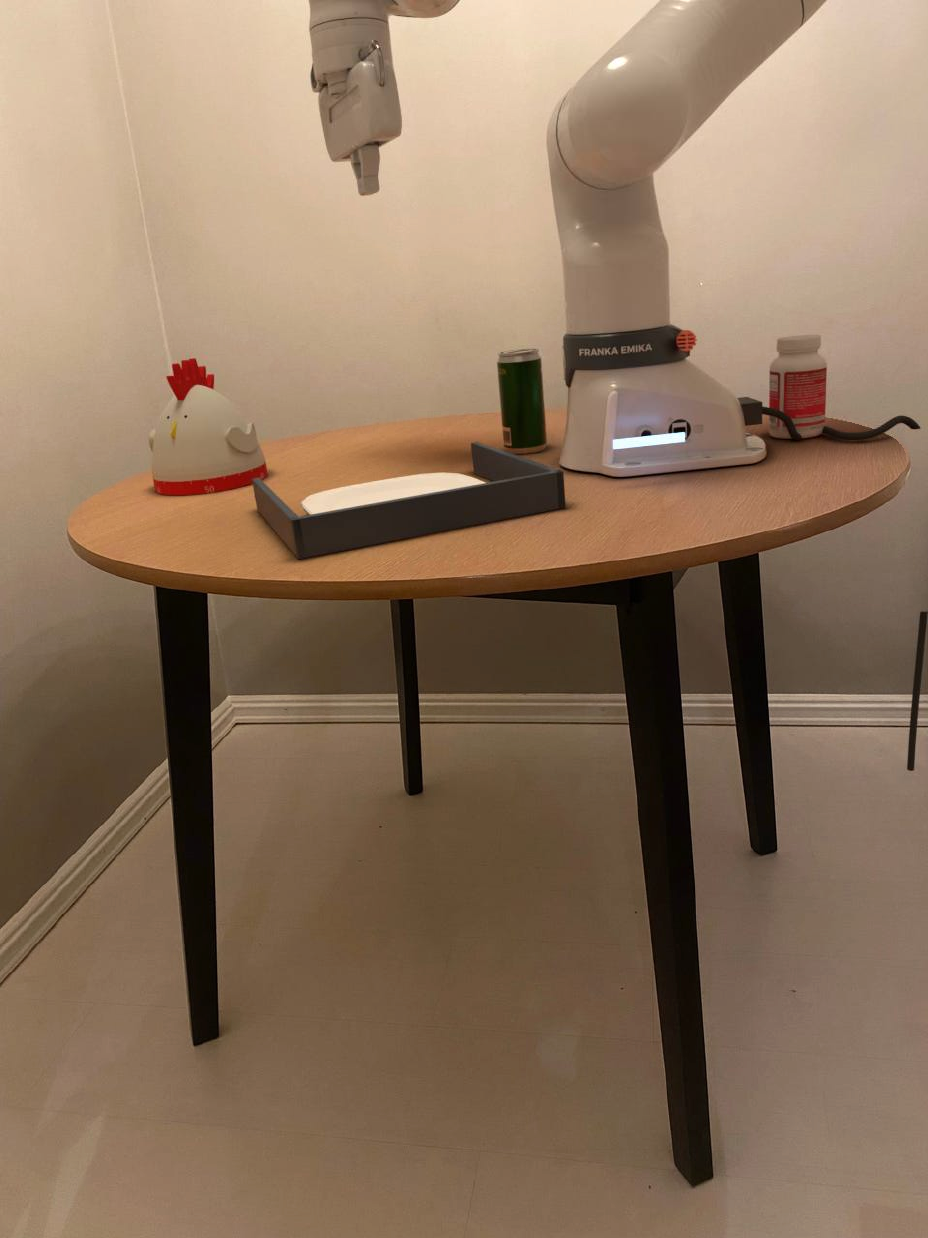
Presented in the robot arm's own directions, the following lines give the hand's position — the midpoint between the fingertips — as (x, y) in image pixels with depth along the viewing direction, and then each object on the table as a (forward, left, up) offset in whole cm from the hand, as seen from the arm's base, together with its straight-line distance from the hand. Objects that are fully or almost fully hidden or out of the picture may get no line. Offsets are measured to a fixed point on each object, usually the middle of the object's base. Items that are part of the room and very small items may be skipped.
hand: (369, 194), depth 109 cm
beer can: (-16, 0, -31) cm, 35 cm away
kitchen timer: (+23, +7, -31) cm, 39 cm away
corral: (-6, +27, -31) cm, 42 cm away
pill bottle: (-48, +2, -31) cm, 57 cm away
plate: (-6, +28, -31) cm, 43 cm away
